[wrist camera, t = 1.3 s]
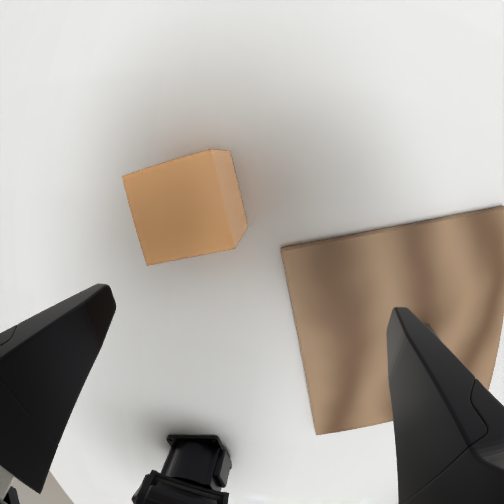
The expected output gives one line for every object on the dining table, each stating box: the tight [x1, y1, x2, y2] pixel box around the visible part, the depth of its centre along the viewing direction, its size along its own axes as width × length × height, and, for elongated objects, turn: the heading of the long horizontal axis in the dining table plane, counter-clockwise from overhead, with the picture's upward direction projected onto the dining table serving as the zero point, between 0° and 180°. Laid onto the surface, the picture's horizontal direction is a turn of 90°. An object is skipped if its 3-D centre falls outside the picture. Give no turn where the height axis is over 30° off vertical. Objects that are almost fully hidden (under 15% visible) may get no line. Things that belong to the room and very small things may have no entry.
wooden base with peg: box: [281, 206, 504, 435], centre depth 21 cm, size 20×20×8 cm
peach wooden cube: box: [122, 149, 248, 266], centre depth 21 cm, size 6×6×6 cm
